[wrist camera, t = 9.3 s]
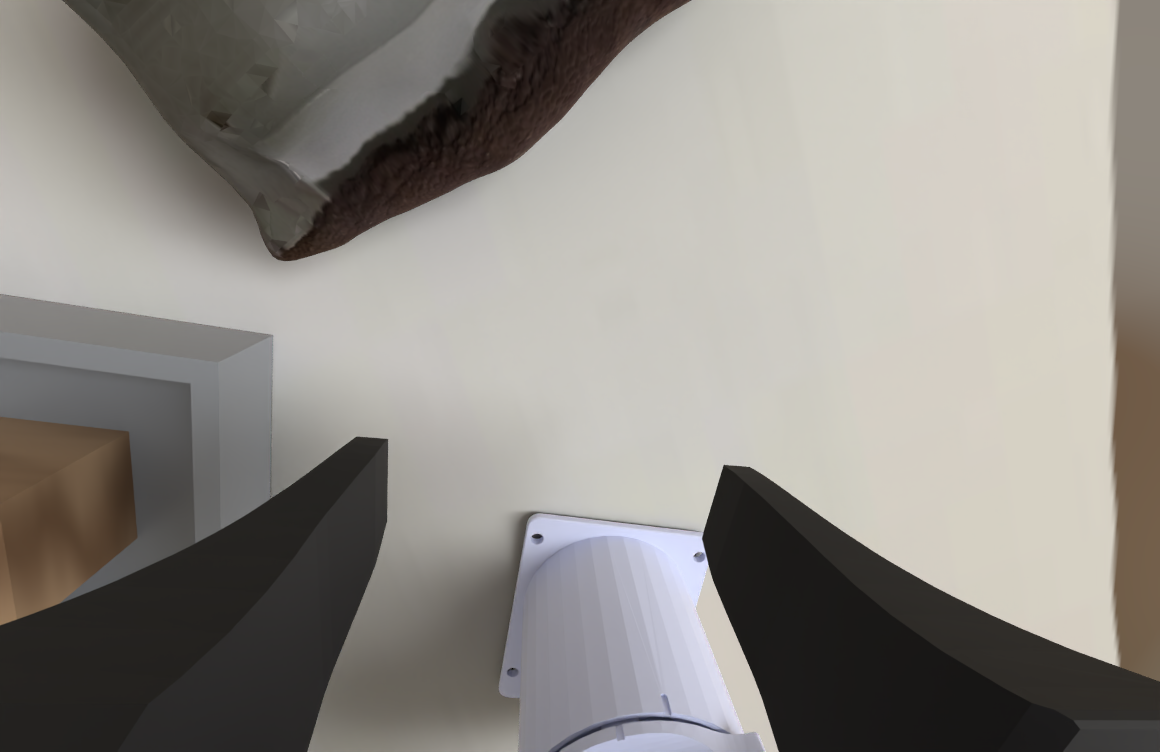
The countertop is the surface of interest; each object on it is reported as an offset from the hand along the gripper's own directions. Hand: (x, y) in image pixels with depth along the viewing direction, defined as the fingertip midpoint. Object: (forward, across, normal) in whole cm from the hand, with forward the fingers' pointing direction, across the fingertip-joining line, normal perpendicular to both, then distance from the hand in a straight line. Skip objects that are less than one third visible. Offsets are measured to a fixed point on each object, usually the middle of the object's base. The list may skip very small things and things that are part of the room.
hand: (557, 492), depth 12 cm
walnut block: (+9, +17, +7) cm, 20 cm away
